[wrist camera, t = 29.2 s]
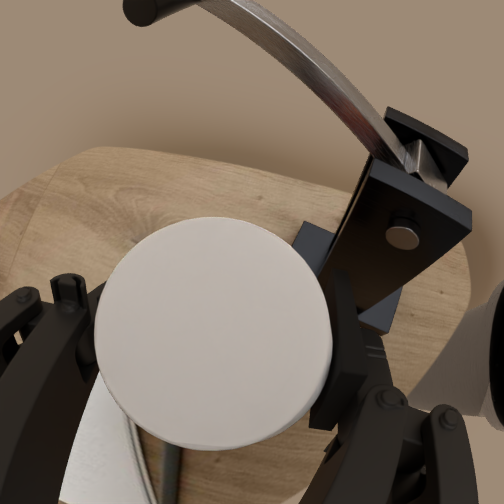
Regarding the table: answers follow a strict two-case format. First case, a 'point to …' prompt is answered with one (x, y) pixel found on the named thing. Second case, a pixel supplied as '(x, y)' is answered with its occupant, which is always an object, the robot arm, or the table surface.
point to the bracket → (390, 226)
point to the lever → (306, 77)
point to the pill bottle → (213, 334)
